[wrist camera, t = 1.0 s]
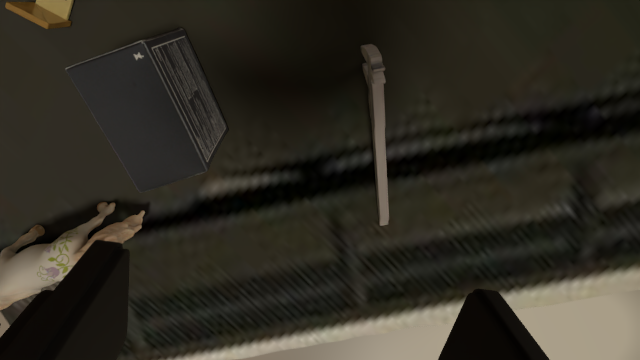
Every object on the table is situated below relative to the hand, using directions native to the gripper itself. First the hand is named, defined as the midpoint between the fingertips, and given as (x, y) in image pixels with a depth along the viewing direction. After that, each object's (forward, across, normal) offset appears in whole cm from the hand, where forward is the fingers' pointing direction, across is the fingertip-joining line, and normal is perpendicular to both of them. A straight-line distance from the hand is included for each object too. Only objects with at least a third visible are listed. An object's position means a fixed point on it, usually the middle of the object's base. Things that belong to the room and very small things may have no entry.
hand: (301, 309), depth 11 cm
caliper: (+31, -10, +4) cm, 32 cm away
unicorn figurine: (+32, +19, +23) cm, 43 cm away
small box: (+31, +11, +2) cm, 33 cm away
